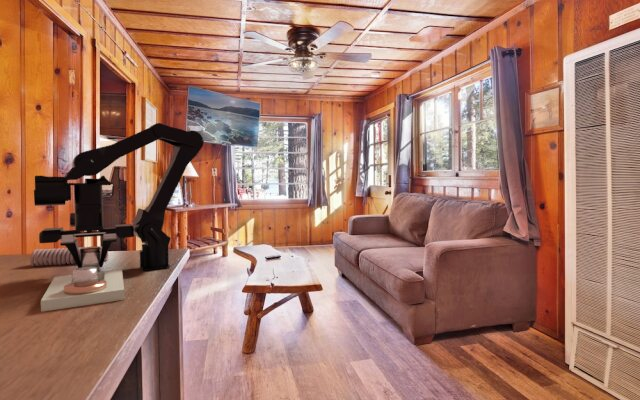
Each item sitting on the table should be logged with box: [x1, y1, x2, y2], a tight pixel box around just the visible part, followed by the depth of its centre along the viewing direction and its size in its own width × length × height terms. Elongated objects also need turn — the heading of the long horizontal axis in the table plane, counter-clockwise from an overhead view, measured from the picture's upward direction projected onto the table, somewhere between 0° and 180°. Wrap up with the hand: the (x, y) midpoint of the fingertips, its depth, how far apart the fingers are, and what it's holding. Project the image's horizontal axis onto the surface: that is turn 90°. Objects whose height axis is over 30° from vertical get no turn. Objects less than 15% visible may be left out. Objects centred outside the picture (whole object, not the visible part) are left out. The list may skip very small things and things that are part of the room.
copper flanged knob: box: [64, 267, 107, 295], centre depth 69 cm, size 7×7×4 cm
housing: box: [40, 268, 125, 312], centre depth 74 cm, size 13×18×2 cm
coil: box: [29, 245, 109, 267], centre depth 99 cm, size 5×5×18 cm
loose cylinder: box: [79, 245, 102, 272], centre depth 86 cm, size 4×4×7 cm
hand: (90, 268), depth 86 cm, fingers closed on loose cylinder, 4 cm apart
